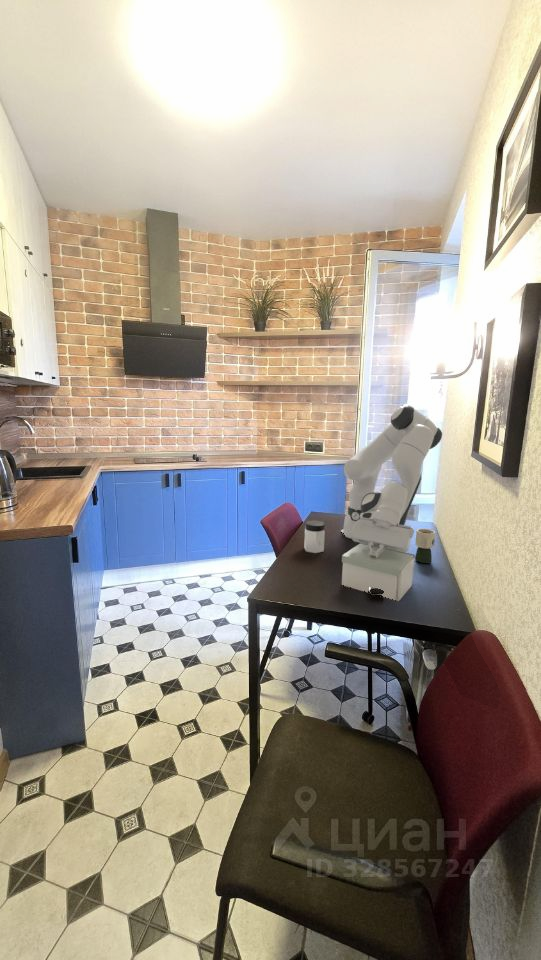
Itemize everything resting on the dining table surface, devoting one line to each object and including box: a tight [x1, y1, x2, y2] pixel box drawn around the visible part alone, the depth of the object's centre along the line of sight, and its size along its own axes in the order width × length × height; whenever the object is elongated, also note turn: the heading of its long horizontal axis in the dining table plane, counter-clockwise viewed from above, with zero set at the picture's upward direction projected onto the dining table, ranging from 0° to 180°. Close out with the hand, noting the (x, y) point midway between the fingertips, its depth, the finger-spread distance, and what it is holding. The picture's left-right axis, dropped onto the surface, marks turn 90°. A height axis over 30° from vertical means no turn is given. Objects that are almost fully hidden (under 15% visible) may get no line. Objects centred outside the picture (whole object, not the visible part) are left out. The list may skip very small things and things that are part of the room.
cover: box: [341, 543, 413, 577], centre depth 141 cm, size 15×20×2 cm
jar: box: [303, 519, 326, 554], centre depth 177 cm, size 9×8×12 cm
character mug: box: [414, 528, 436, 564], centre depth 165 cm, size 11×7×13 cm, turn 168°
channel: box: [341, 542, 416, 602], centre depth 143 cm, size 15×20×12 cm
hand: (373, 556), depth 138 cm, fingers closed
